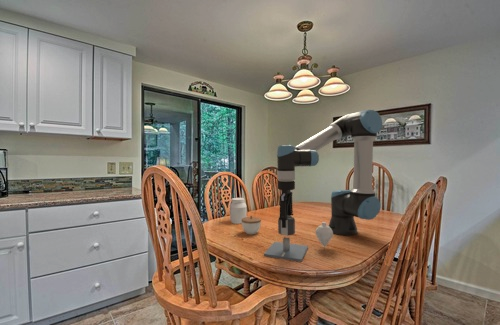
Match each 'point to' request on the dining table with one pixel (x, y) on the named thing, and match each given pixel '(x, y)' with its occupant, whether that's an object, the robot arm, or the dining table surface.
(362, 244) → the dining table surface
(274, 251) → the shaft plate
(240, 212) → the jar
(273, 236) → the dining table surface
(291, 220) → the knob
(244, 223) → the lidded jar
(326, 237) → the spinning top
